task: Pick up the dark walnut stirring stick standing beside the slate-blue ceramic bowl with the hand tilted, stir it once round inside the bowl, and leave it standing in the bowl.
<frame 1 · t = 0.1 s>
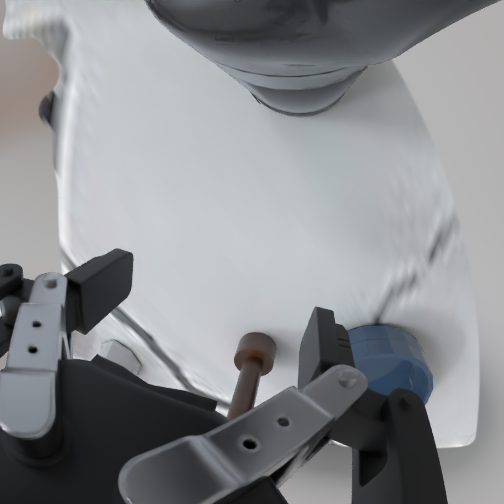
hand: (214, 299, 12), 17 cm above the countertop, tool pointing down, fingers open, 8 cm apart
mixing bowl: (365, 370, 33), on the countertop
flask: (121, 357, 40), on the countertop
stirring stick: (257, 346, 34), on the countertop
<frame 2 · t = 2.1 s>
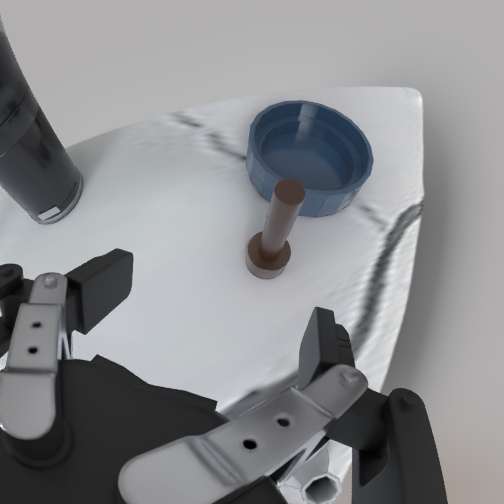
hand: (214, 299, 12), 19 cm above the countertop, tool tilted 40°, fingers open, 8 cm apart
mixing bowl: (303, 168, 38), on the countertop
flask: (294, 455, 26), on the countertop
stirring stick: (265, 260, 33), on the countertop
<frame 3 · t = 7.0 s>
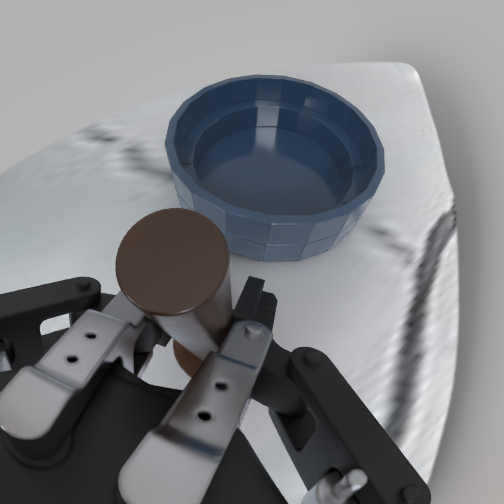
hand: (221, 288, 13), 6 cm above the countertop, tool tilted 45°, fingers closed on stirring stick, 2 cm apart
mixing bowl: (271, 179, 24), on the countertop
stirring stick: (216, 350, 18), on the countertop, touching gripper
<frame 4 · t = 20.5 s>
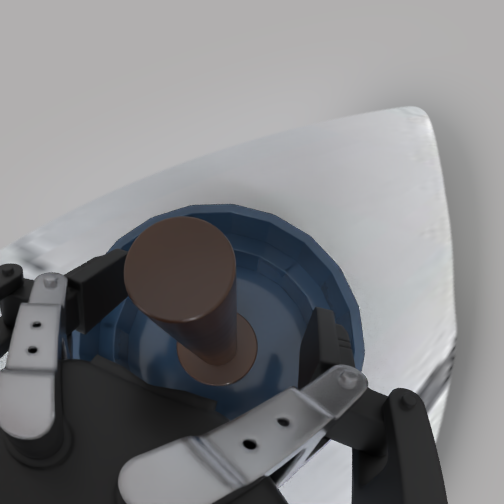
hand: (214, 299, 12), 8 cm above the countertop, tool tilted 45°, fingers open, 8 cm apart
mixing bowl: (218, 351, 19), on the countertop
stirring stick: (219, 352, 18), point 1 cm above the countertop, touching mixing bowl
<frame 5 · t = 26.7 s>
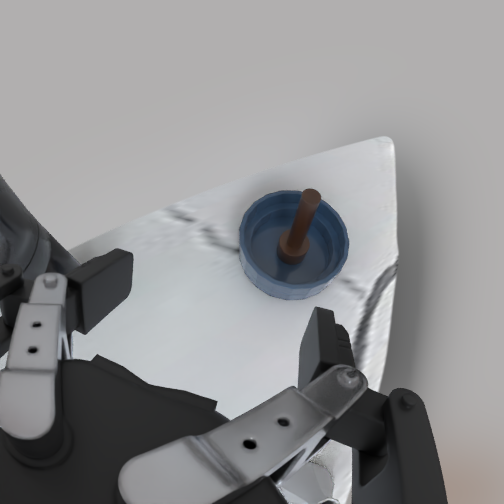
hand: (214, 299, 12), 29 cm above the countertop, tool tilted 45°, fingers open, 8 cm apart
mixing bowl: (289, 252, 45), on the countertop
flask: (306, 484, 30), on the countertop
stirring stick: (291, 251, 45), point 1 cm above the countertop, touching mixing bowl
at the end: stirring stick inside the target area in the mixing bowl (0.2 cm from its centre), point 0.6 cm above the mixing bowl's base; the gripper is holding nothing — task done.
